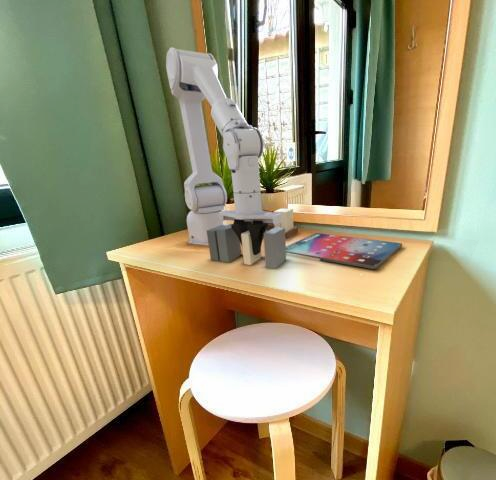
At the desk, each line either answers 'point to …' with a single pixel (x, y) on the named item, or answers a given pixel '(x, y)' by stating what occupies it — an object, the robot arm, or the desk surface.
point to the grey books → (229, 248)
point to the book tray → (286, 232)
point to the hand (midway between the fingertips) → (252, 253)
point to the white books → (285, 219)
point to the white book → (248, 249)
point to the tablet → (345, 249)
